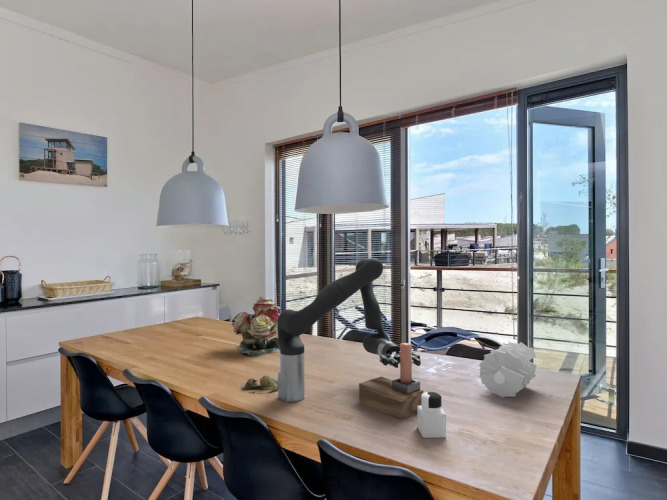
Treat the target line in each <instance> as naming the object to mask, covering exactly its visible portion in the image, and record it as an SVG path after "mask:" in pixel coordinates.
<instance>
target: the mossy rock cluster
mask: <svg viewBox="0 0 667 500" xmlns="http://www.w3.org/2000/svg"><path fill="white" fill-rule="evenodd" d="M257 381H258V379H255V378H252V377H251V378H249V379H247V382H245V384H244V386H243V385H240V389H241V390H253V391H247V393H248V394H254V395H255V394H257V395H261V394H264V392H256V391H255V390H263V391H264V390H266V391H268V390H269V391H268V392H265V394H270V393H271V392H274V391H278V379H276V378H272V377H271V376H269V375H265V374H264V375H263V376H262V377H260V378H259V383H258V382H257Z"/></svg>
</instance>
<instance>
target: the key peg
mask: <svg viewBox="0 0 667 500" xmlns="http://www.w3.org/2000/svg"><path fill="white" fill-rule="evenodd" d="M399 344H400V345H399V347H400V363H399V374H400V375H399V378H400V382H401V383H404V384H410V383H412V379H413V378H412V377H413V376H412V371H413V366H412V365H413V363H412V361H413V360H412V352H413V351H412V350H413V349H412V348H413V347H412V343H410V342H402V343H399Z"/></svg>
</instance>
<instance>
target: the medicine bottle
mask: <svg viewBox="0 0 667 500" xmlns="http://www.w3.org/2000/svg"><path fill="white" fill-rule="evenodd" d="M416 414H417V422H416V423H417V429H418V431H419V433H420V435H421V436H422V439H425V438H426V439H430V438H431V439H435V438H436V439H437V438H438V439H439V438H441V439H442V438H447V414H446V412H445V411H444V410H443V408H442V395H441V394H439V393H437V392H434V391H426V392H423V394H422V395H421V406H417V413H416Z"/></svg>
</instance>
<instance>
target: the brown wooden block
mask: <svg viewBox="0 0 667 500" xmlns="http://www.w3.org/2000/svg"><path fill="white" fill-rule="evenodd" d="M423 393H424V389H421V381H420V380H416V379H414V378H412V383H410V384H404V383H401V382H400V377H399V378H396V379H390V378H387V377H384V376H378V377H375V378H372V379H369V380H365V381H361V382H360V383H358V395H359V396H358V401H359V402H358V403H361V404H363V405H365V406H367V407H369V408H372V409H375V410H377V411H378V412H379V411H380V412H381V413H384V414H386V415H388V416H391V417H393V418H395V419H398V420H400V421H402V420H404V419H406V418H409V417H411V416H414V415H416V414H417V406H421V395H422V394H423ZM413 414H414V415H413Z"/></svg>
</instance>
